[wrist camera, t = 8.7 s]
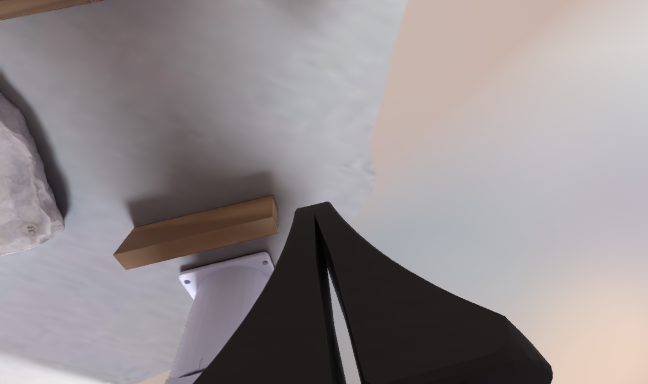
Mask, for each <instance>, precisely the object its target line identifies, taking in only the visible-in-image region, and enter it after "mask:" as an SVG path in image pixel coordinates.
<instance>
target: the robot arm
mask: <svg viewBox="0 0 648 384" xmlns="http://www.w3.org/2000/svg"><path fill="white" fill-rule="evenodd" d="M264 261H266V262H264ZM327 268H328V270H327ZM328 271H329V274H330V277H331V280H332V283H333V286H334V288H335V292H336V294H337V297H338V301H339V303H340V306H341V309H342V312H343V315H344V318H345V322H346V325H347V329H348V332H349V336H350V340H351V344H352V348H353V352H354V357H355V361H356V365H357V369H358V373H359V377H360V381H361V384H551V381H552V379H553V372H552V368H551V366H550V364H549V363H548V362H547V361H546V360H545V358H544V357H543V356H542V355H541V354H540V353H539V351H538V350H537V349H536V348H535V347H534V346H533V344H532V343H531V342H530V341H529V340H528V339H527V338H526V337H525V336H524V335H523V334H522V333H521V332H520V331H519V330H518V329H517V328H516V327H515V326H514V325H513V324H512V323H511V322H510V321H509V320H508V319H507V318H506V317H505V316H503V315H501V314H498V313H496V312H493V311H491V310H489V309H486V308H484V307H482V306H479V305H477V304H475V303H472V302H470V301H467V300H465V299H463V298H460V297H458V296H456V295H454V294H452V293H449V292H448V291H446V290H444V289H441V288H439V287H437V286H435V285H434V284H432V283H430V282H428V281H426V280H425V279H423V278H421V277H419V276H418V275H416V274H414V273H412V272H410V271H409V270H407V269H405V268H404V267H402V266H401V265H399V264H398V263H396V262H394V261H393V260H391V259H390V258H389V257H387V256H386V255H384V254H383V253H382V252H380V251H379V250H378V249H376V248H375V247H374V246H372V245H371V244H370V243H369V242H367V241H366V240H365V239H364V238H363V237H362V236H360V235H359V234H358V233H357V232H356V231H355V230H354V229H353V228H352V227H351V226H350V225H349V224H348V223H347V222H346V221H345V220H344V219H343V218H342V217H341V216H340V215H339V213H338V212H337V211H336V210H335V208H334V207H333V206H332V204H331V203H330V202H324V203H319V204H315V205H311V206H307V207H303V208H298V209H297V210H296V211H295V215H294V219H293V223H292V226H291V229H290V233H289V235H288V238H287V241H286V243H285V246H284V249H283V251H282V253H281V255H280V258H279V260H278V262H277V264H276V266H275V268H274V266H273V264H272V261H271V259H270V256H269V254H268V253H266V252H260V253H256V254H252V255H248V256H244V257H240V258H236V259H232V260H228V261H224V262H219V263H215V264H211V265H207V266H203V267H199V268H195V269H191V270H187V271H183V272H181V273H180V275H179V280H180V281H181V282H182V284H183V285H184V287H185V288H186V289H187V291H188V292H189V294H190V295H191V297H192V298H193V299H194V301H193V304H192V307H191V310H190V313H189V316H188V320H187V323H186V326H185V329H184V332H183V335H182V338H181V341H180V344H179V347H178V350H177V353H176V356H175V359H174V362H173V366H172V369H171V372H170V375H169V378H168V379H167V380H166V382H165V384H346V380H345V375H344V371H343V366H342V361H341V357H340V352H339V347H338V342H337V337H336V332H335V326H334V321H333V311H332V303H331V294H330V287H329V279H328Z"/></svg>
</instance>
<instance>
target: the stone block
mask: <svg viewBox="0 0 648 384" xmlns="http://www.w3.org/2000/svg"><path fill="white" fill-rule="evenodd" d="M64 229H65V223H64V220H63V218H62V215H61V212H60V211H59V209H58V207H57V206H56V200H55V196H54V195H53V192H52V189H51V187H50V186H49V185H48V183H47V180H46V174H45V172H44V163H43V161H42V159H41V157H40V155H39V153H38V151H37V148H36V144H35V142H34V140H33V138H32V136H31V135H30V132H29V130H28V127H27V125H26V121H25V118H24V116H23V114H22V113H21V111H20V110H19V109H18V108H17V107H16V106H14V105H13V104H12V103H11V102H10V101H8V100H7V99H6V98H5V97H4V96H3V95H2V93H1V92H0V256H3V255H7V254H12V253H16V252H20V251H26V250H29V249H31V248H34V247H37V246H39V245H41V244H42V243H44V242H45V241H47V240H48V239H50V238H52V237H53V236H54V234H56V233H57V232H59V231H62V230H64Z"/></svg>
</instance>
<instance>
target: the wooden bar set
mask: <svg viewBox="0 0 648 384" xmlns="http://www.w3.org/2000/svg"><path fill="white" fill-rule="evenodd" d="M97 1H102V0H0V20H4V19H9V18H14V17H20V16H25V15H30V14H35V13H40V12H45V11H51V10H56V9H61V8H66V7H71V6H76V5H82V4H87V3H92V2H97ZM277 233H278V209H277V206H276V203H275V200H274V197H273V195H272V196H268V197H263V198H259V199H255V200H251V201H246V202H242V203H238V204H234V205H229V206H225V207H221V208H217V209H212V210H208V211H204V212H200V213H195V214H191V215H187V216H182V217H178V218H174V219H170V220H165V221H161V222H157V223H153V224H148V225H144V226H140V227H136V228H134V229H133V230H132V231H131V233H130V234H129V235H128V236H127V238H126V239H125V240H124V242H123V243H122V244H121V245H120V247H119V248H118V249H117V251H116V252H115V253H114V254H113V255H114V257H115V258H116V259H117V260H118V261H119V263H120V264H121V265H122V266H123V267H124V268H125V270H128V269H132V268H136V267H141V266H145V265H149V264H153V263H157V262H161V261H165V260H170V259H174V258H178V257H182V256H186V255H190V254H194V253H198V252H203V251H207V250H211V249H215V248H219V247H223V246H227V245H232V244H236V243H240V242H244V241H248V240H252V239H256V238H261V237H265V236H269V235H273V234H277Z"/></svg>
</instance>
